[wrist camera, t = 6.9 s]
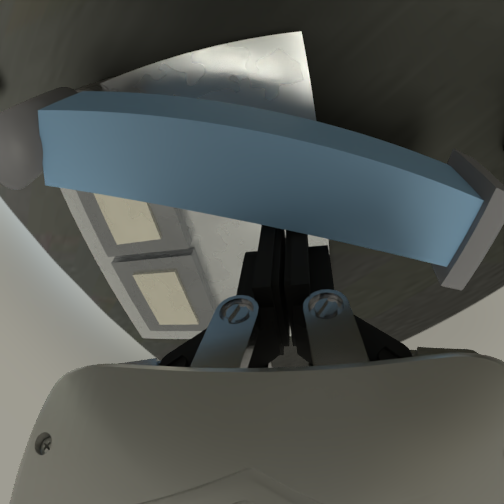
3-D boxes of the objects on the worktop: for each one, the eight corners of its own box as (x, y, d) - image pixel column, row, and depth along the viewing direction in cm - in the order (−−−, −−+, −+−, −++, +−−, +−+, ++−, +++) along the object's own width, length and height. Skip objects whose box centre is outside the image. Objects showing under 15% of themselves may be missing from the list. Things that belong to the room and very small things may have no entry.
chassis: (49, 105, 16) (3, 128, 12) (298, 29, 13) (303, 23, 9) (149, 321, 28) (133, 361, 24) (330, 313, 25) (334, 361, 21)
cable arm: (43, 159, 13) (-7, 197, 10) (38, 76, 10) (-23, 100, 7) (433, 236, 14) (463, 293, 10) (471, 156, 11) (520, 200, 8)
